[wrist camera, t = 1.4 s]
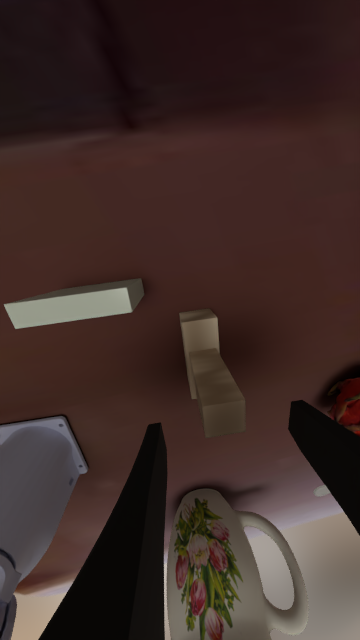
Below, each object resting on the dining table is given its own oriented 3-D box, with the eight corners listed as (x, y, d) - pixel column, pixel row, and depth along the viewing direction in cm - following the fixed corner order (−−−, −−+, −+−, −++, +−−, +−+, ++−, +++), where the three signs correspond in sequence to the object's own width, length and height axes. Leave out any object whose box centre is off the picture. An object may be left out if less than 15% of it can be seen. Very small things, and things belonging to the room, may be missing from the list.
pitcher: (268, 502, 28) (353, 706, 15) (165, 532, 29) (164, 752, 16) (256, 461, 25) (355, 680, 12) (140, 496, 25) (112, 741, 12)
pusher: (209, 308, 17) (251, 354, 8) (213, 375, 20) (250, 462, 11) (179, 312, 17) (191, 363, 8) (188, 379, 20) (204, 470, 11)
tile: (144, 294, 16) (132, 312, 10) (69, 304, 16) (15, 328, 10) (141, 278, 16) (126, 287, 10) (63, 288, 15) (3, 304, 10)
